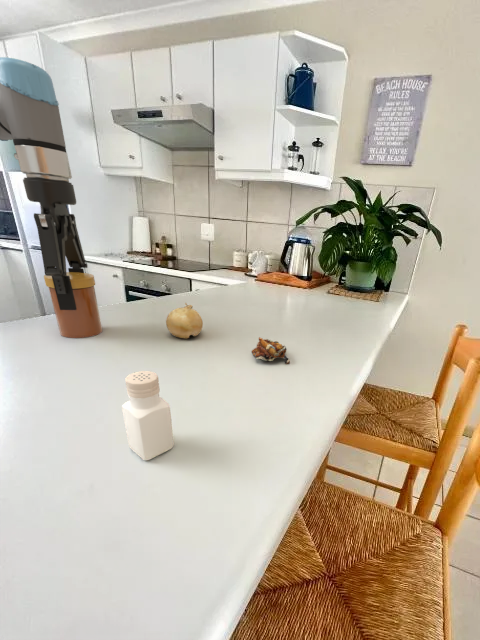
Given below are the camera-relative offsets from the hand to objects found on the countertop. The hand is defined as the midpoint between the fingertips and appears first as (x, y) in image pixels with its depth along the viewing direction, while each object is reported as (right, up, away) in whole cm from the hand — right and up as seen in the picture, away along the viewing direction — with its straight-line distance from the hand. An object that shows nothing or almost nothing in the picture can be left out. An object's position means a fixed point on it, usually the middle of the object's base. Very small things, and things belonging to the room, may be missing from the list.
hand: (75, 303), depth 68 cm
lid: (0, +5, -2) cm, 5 cm away
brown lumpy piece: (+41, -11, 0) cm, 42 cm away
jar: (-1, -6, +3) cm, 6 cm away
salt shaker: (+29, -25, -30) cm, 48 cm away
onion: (+21, -6, +6) cm, 23 cm away
